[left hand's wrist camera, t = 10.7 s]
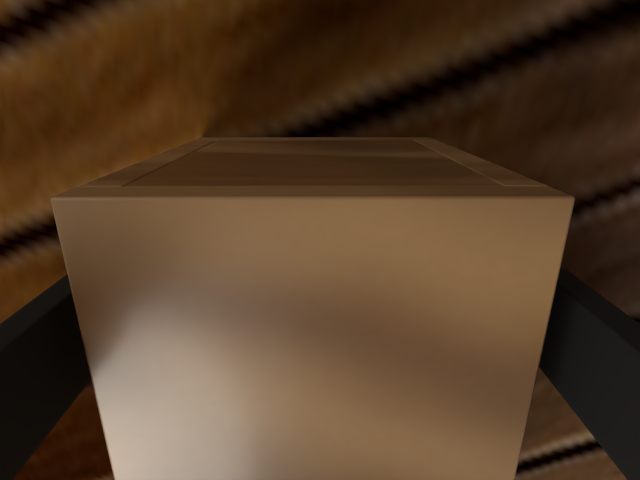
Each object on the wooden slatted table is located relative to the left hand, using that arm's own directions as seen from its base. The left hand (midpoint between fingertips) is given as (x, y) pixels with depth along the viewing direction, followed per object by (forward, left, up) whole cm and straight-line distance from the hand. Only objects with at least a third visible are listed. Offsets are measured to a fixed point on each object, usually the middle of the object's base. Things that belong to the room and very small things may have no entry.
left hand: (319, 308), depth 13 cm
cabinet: (+2, +5, -9) cm, 10 cm away
